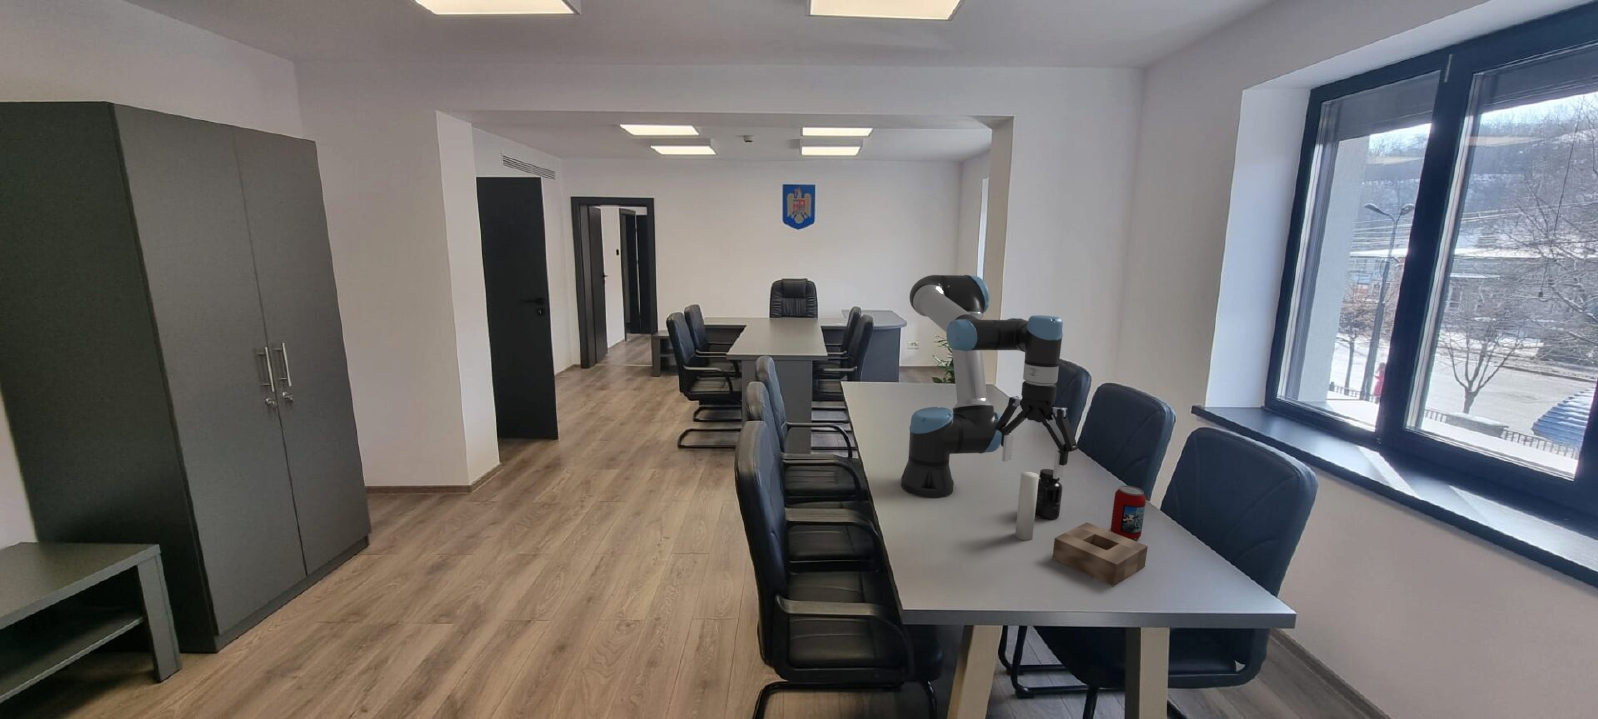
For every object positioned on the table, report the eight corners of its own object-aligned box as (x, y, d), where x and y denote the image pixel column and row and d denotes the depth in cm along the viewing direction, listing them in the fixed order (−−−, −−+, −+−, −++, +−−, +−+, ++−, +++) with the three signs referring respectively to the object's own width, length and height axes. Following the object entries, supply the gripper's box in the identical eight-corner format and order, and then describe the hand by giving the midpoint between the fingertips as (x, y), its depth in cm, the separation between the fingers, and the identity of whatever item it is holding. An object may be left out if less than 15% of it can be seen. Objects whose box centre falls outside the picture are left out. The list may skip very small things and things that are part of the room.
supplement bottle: (1061, 521, 157) (1066, 477, 154) (1034, 518, 158) (1038, 475, 156) (1056, 510, 163) (1060, 468, 161) (1029, 507, 165) (1034, 466, 162)
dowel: (1011, 535, 148) (1017, 473, 145) (1021, 530, 151) (1027, 470, 148) (1026, 541, 145) (1032, 479, 142) (1035, 537, 148) (1042, 475, 145)
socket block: (1052, 558, 138) (1054, 537, 137) (1084, 541, 146) (1086, 522, 145) (1113, 586, 127) (1116, 564, 126) (1144, 566, 135) (1147, 545, 134)
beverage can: (1129, 543, 146) (1135, 497, 143) (1104, 531, 151) (1109, 486, 149) (1146, 538, 149) (1153, 492, 146) (1121, 526, 154) (1127, 482, 152)
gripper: (984, 374, 148) (978, 456, 152) (1082, 395, 129) (1072, 488, 133) (1003, 371, 153) (996, 451, 157) (1100, 390, 133) (1089, 481, 137)
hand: (1031, 468), depth 145 cm, fingers open, 13 cm apart
